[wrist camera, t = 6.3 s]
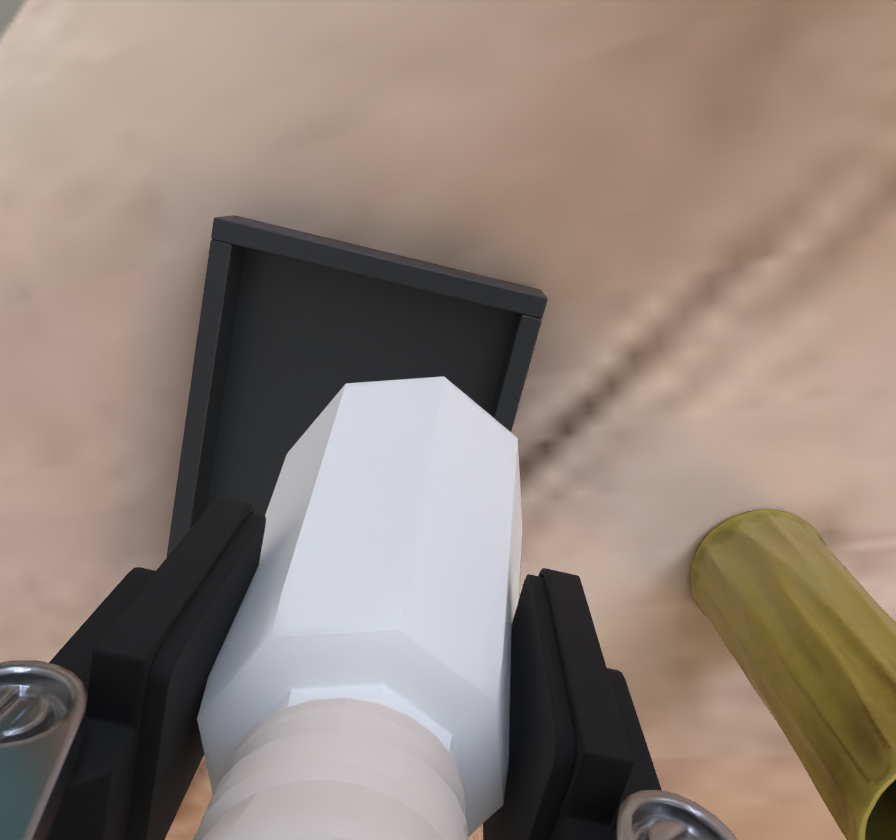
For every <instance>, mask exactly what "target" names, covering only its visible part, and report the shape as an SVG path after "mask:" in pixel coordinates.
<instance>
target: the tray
mask: <svg viewBox="0 0 896 840" xmlns="http://www.w3.org/2000/svg"><path fill="white" fill-rule="evenodd" d="M211 238H212V239H213V240H211V244H210V251H209V258H208V266H207V273H206V280H205V287H204V294H203V301H202V308H201V316H200V323H199V330H198V337H197V344H196V351H195V359H194V366H193V373H192V380H191V387H190V394H189V402H188V409H187V416H186V423H185V430H184V437H183V445H182V452H181V459H180V466H179V473H178V480H177V487H176V495H175V502H174V509H173V516H172V523H171V530H170V538H169V545H168V552H167V557H168V556H169V555H170V553H171V552H172V551H173V550H174V549H175V547H176V546H177V545H178V544H179V542H180V541H181V540H182V539H183V538H184V536H185V535H186V534H187V533H188V531H189V530H190V529H191V528H192V527H193V525H194V524H195V523H196V522H197V520H198V519H199V518H200V517H201V516H202V514H203V513H204V512H205V511H206V509H207V508H208V507H209V506H210V504H211V503H212V502H213V501H214V500H215V498H217V497H218V496H219V497H223V498H228V499H232V500H237V501H242V502H246V503H251V504H254V505H255V514H256V515H261V516H265V514H266V512H267V509H268V506H269V503H270V500H271V497H272V495H273V492H274V489H275V486H276V483H277V480H278V478H279V475H280V472H281V469H282V466H283V463H284V461H285V458H286V455H287V453H288V452H289V451H290V449H291V448H292V447H293V446H294V445H295V444H296V442H297V441H298V440H299V439H300V438H301V436H302V435H303V434H304V433H305V432H306V430H307V429H308V428H309V427H310V426H311V424H312V423H313V422H314V421H315V420H316V419H317V417H318V416H319V415H320V414H321V413H322V411H323V410H324V409H325V408H326V407H327V405H328V404H329V403H330V402H331V401H332V399H333V398H334V397H335V396H336V395H337V394H338V392H339V391H340V390H341V389H342V388H343V386H344V385H345V384H346V383H359V382H373V381H387V380H401V379H415V378H429V377H443V376H444V377H445V378H447V379H448V380H449V381H450V382H451V383H452V384H454V385H455V386H456V387H457V388H458V389H460V390H461V391H462V392H463V393H464V394H466V395H467V396H468V397H469V398H470V399H472V400H473V401H474V402H475V403H476V404H478V405H479V406H480V407H481V408H482V409H484V410H485V411H486V412H487V413H488V414H490V415H491V416H492V417H493V418H494V419H496V420H497V421H498V422H499V423H500V424H502V425H503V426H504V427H505V428H506V429H507V430H509V431H510V432H511V430H512V426H513V422H514V419H515V415H516V412H517V408H518V404H519V401H520V397H521V393H522V390H523V386H524V383H525V379H526V375H527V372H528V368H529V364H530V361H531V357H532V353H533V350H534V346H535V343H536V339H537V335H538V332H539V328H540V324H541V318H542V317H543V314H544V310H545V307H546V303H547V297H546V296H545V295H544V293H543V292H542V291H541V290H539V289H535V288H531V287H527V286H523V285H519V284H515V283H511V282H507V281H502V280H498V279H494V278H490V277H486V276H482V275H478V274H474V273H469V272H465V271H461V270H457V269H453V268H449V267H445V266H441V265H437V264H432V263H428V262H424V261H420V260H416V259H412V258H408V257H404V256H400V255H395V254H391V253H387V252H383V251H379V250H375V249H371V248H367V247H362V246H358V245H354V244H350V243H346V242H342V241H338V240H334V239H330V238H325V237H321V236H317V235H313V234H309V233H305V232H301V231H297V230H293V229H288V228H284V227H280V226H276V225H272V224H268V223H264V222H260V221H256V220H251V219H247V218H243V217H239V216H225V217H216V218H214V222H213V229H212V236H211Z"/></svg>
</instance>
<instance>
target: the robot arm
mask: <svg viewBox="0 0 896 840" xmlns="http://www.w3.org/2000/svg"><path fill="white" fill-rule="evenodd" d="M265 526H266V517H265V516H261V515H256V514H255V505H254V504H251V503H246V502H242V501H237V500H232V499H228V498H223V497H219V496H218V497H217V498H215V500H214V501H213V502H212V503H211V504H210V506H209V507H208V508H207V509H206V511H205V512H204V513H203V514H202V516H201V517H200V518H199V519H198V520H197V522H196V523H195V524H194V525H193V527H192V528H191V529H190V530H189V531H188V533H187V534H186V535H185V536H184V538H183V539H182V540H181V541H180V542H179V544H178V545H177V546H176V547H175V549H174V550H173V551H172V552H171V553H170V555H169V556H168V557H167V558H166V560H165V561H164V562H163V563H162V565H161V566H160V567H159V568H158V569H157V571H154V570H149V569H144V568H140V567H138V568H134V569H132V570H131V571H130V572H129V573H128V574H127V575H126V576H125V577H124V579H123V580H122V581H121V582H120V583H119V584H118V585H117V586H116V588H115V589H114V590H113V591H112V592H111V593H110V594H109V596H108V597H107V598H106V599H105V600H104V601H103V602H102V603H101V605H100V606H99V607H98V608H97V609H96V610H95V611H94V612H93V614H92V615H91V616H90V617H89V618H88V619H87V620H86V621H85V623H84V624H83V625H82V626H81V627H80V628H79V629H78V631H77V632H76V633H75V634H74V635H73V636H72V637H71V638H70V640H69V641H68V642H67V643H66V644H65V645H64V646H63V647H62V649H61V650H60V651H59V652H58V653H57V654H56V655H55V657H54V658H53V659H52V660H51V661H50V662H49V663H46V662H41V661H8V662H2V663H0V840H164V839H165V837H166V835H167V833H168V831H169V829H170V826H171V824H172V822H173V820H174V818H175V816H176V814H177V811H178V809H179V807H180V805H181V803H182V801H183V798H184V796H185V794H186V792H187V790H188V788H189V786H190V783H191V781H192V779H193V777H194V775H195V773H196V770H197V768H198V766H199V764H200V762H201V760H202V758H203V755H204V750H203V745H202V740H201V735H200V730H199V725H198V721H197V717H198V713H199V710H200V706H201V702H202V698H203V695H204V691H205V687H206V683H207V680H208V676H209V674H210V672H211V670H212V667H213V665H214V663H215V661H216V659H217V656H218V654H219V652H220V650H221V648H222V645H223V643H224V641H225V639H226V637H227V634H228V632H229V630H230V628H231V626H232V623H233V621H234V619H235V617H236V614H237V612H238V610H239V608H240V606H241V603H242V601H243V599H244V597H245V595H246V592H247V590H248V588H249V586H250V583H251V581H252V579H253V577H254V574H255V572H256V570H257V568H258V566H259V560H260V555H261V549H262V543H263V537H264V532H265ZM483 840H737V839H736V837H735V836H734V834H733V833H732V831H731V830H730V829H729V828H728V827H727V826H726V825H724V824H723V823H722V822H721V821H720V820H719V819H718V818H717V817H716V816H715V815H714V814H712V813H711V812H709V811H708V810H706V809H705V808H703V807H702V806H700V805H699V804H697V803H696V802H693V801H691V800H689V799H687V798H685V797H682V796H680V795H678V794H674V793H670V792H666V791H662V790H661V787H660V784H659V781H658V778H657V775H656V772H655V769H654V766H653V762H652V759H651V756H650V753H649V750H648V747H647V744H646V741H645V738H644V735H643V732H642V729H641V726H640V723H639V720H638V717H637V714H636V711H635V708H634V705H633V702H632V699H631V696H630V693H629V689H628V686H627V683H626V680H625V678H624V676H623V674H622V672H620V671H618V670H614V669H609V668H606V665H605V661H604V658H603V654H602V651H601V648H600V644H599V641H598V638H597V634H596V631H595V628H594V624H593V621H592V617H591V614H590V611H589V607H588V604H587V601H586V597H585V594H584V591H583V587H582V584H581V580H580V578H579V576H577V575H572V574H568V573H563V572H559V571H554V570H550V569H545V568H543V569H542V570H541V571H540V573H539V575H538V576H534V575H529V574H528V575H527V577H526V579H525V581H524V584H523V588H522V591H521V594H520V598H519V601H518V605H517V608H516V611H515V615H514V618H513V622H512V630H511V674H510V720H509V762H508V774H507V782H506V789H505V797H504V805H503V806H502V807H500V808H499V809H498V810H497V811H496V812H495V813H494V814H493V815H492V816H490V817H489V818H488V819H487V820H486V821H485V822H484V823H483Z"/></svg>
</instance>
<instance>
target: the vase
mask: <svg viewBox="0 0 896 840" xmlns="http://www.w3.org/2000/svg"><path fill="white" fill-rule="evenodd" d="M690 585H691V591H692V594H693V598H694V600H695V602H696V603H697V605H698V607H699V608H700V609H701V610H702V612H703V613H704V614H705V615H706V616H707V617H708V618H709V619H710V621H711V622H712V624H713V625H714V627H715V629H716V631H717V632H718V634H719V636H720V637H721V639H722V640H723V642H724V643H725V645H726V646H727V648H728V649H729V651H730V652H731V654H732V655H733V657H734V658H735V659H736V661H737V662H738V664H739V666H740V667H741V669H742V670H743V672H744V673H745V675H746V677H747V678H748V680H749V682H750V683H751V685H752V686H753V688H754V689H755V691H756V692H757V694H758V695H759V696H760V698H761V699H762V701H763V702H764V704H765V705H766V707H767V708H768V709H769V711H770V712H771V714H772V715H773V717H774V718H775V720H776V721H777V723H778V724H779V726H780V727H781V729H782V731H783V732H784V734H785V735H786V737H787V739H788V740H789V742H790V744H791V745H792V747H793V749H794V750H795V752H796V754H797V755H798V757H799V759H800V760H801V762H802V764H803V766H804V767H805V769H806V771H807V772H808V774H809V776H810V778H811V780H812V781H813V783H814V785H815V787H816V789H817V790H818V792H819V794H820V796H821V797H822V799H823V801H824V802H825V804H826V806H827V808H828V809H829V811H830V813H831V814H832V816H833V818H834V819H835V821H836V823H837V825H838V826H839V828H840V830H841V831H842V833H843V834H844V836H845V837H846V839H847V840H896V622H895V621H894V620H893V619H892V618H891V617H890V616H889V615H888V614H887V613H886V612H885V611H884V610H883V609H882V608H881V607H880V606H879V605H878V604H877V602H876V601H875V600H874V599H873V598H872V597H871V596H870V595H869V593H868V592H867V591H866V590H865V589H864V588H863V586H862V585H861V584H860V583H859V582H858V581H857V580H856V579H855V577H854V576H853V575H852V574H851V573H850V572H849V571H848V570H847V569H846V568H845V566H844V565H843V564H842V563H841V562H840V561H839V560H838V559H837V558H836V557H835V556H834V554H833V553H832V552H831V551H830V550H829V549H828V548H827V546H826V544H825V542H824V541H823V539H822V538H821V536H820V535H819V533H818V532H817V531H816V530H815V529H814V528H813V527H812V526H811V525H810V524H809V523H808V522H806V521H805V520H803V519H801V518H800V517H798V516H796V515H793V514H790V513H787V512H783V511H778V510H756V511H750V512H746V513H742V514H739V515H736V516H734V517H732V518H730V519H728V520H726V521H724V522H723V523H721V524H720V525H719V526H717V527H716V528H715V529H714V530H712V531H711V532H710V533H709V534H708V535H707V536H706V537H705V539H704V540H703V541H702V543H701V544H700V546H699V547H698V550H697V552H696V554H695V556H694V559H693V562H692V566H691V570H690Z"/></svg>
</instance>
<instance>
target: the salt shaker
mask: <svg viewBox="0 0 896 840" xmlns="http://www.w3.org/2000/svg"><path fill="white" fill-rule="evenodd" d="M265 517H266V526H265V532H264V537H263V543H262V549H261V555H260V560H259V566H258V568H257V570H256V572H255V574H254V577H253V579H252V581H251V583H250V586H249V588H248V590H247V592H246V595H245V597H244V599H243V601H242V603H241V606H240V608H239V610H238V612H237V614H236V617H235V619H234V621H233V623H232V626H231V628H230V630H229V632H228V634H227V637H226V639H225V641H224V643H223V645H222V648H221V650H220V652H219V654H218V656H217V659H216V661H215V663H214V665H213V667H212V670H211V672H210V674H209V676H208V680H207V683H206V687H205V691H204V695H203V698H202V702H201V706H200V710H199V713H198V717H197V721H198V725H199V730H200V735H201V740H202V745H203V750H204V754H205V759H206V764H207V769H208V774H209V779H210V783H211V788H212V793H213V797H212V799H211V801H210V803H209V805H208V808H207V810H206V813H205V815H204V817H203V819H202V821H201V824H200V826H199V829H198V831H197V833H196V835H195V837H194V839H193V840H469V839H468V836H470V835H471V834H472V833H473V832H474V831H475V830H476V829H477V828H478V827H479V826H481V825H482V824H483V823H484V822H485V821H486V820H487V819H488V818H489V817H490V816H492V815H493V814H494V813H495V812H496V811H497V810H498V809H499V808H500V807H502V806H503V805H504V797H505V789H506V782H507V774H508V762H509V720H510V674H511V630H512V622H513V618H514V615H515V611H516V608H517V605H518V597H519V580H520V562H521V544H522V508H521V490H520V472H519V453H518V438H517V437H516V436H515V435H513V434H512V433H511V432H510V431H509V430H507V429H506V428H505V427H504V426H503V425H502V424H500V423H499V422H498V421H497V420H496V419H494V418H493V417H492V416H491V415H490V414H488V413H487V412H486V411H485V410H484V409H482V408H481V407H480V406H479V405H478V404H476V403H475V402H474V401H473V400H472V399H470V398H469V397H468V396H467V395H466V394H464V393H463V392H462V391H461V390H460V389H458V388H457V387H456V386H455V385H454V384H452V383H451V382H450V381H449V380H448V379H447V378H445V377H444V376H443V377H429V378H415V379H401V380H387V381H373V382H359V383H346V384H345V385H344V386H343V388H342V389H341V390H340V391H339V392H338V394H337V395H336V396H335V397H334V398H333V399H332V401H331V402H330V403H329V404H328V405H327V407H326V408H325V409H324V410H323V411H322V413H321V414H320V415H319V416H318V417H317V419H316V420H315V421H314V422H313V423H312V424H311V426H310V427H309V428H308V429H307V430H306V432H305V433H304V434H303V435H302V436H301V438H300V439H299V440H298V441H297V442H296V444H295V445H294V446H293V447H292V448H291V449H290V451H289V452H288V453H287V455H286V458H285V461H284V463H283V466H282V469H281V472H280V475H279V478H278V480H277V483H276V486H275V489H274V492H273V495H272V497H271V500H270V503H269V506H268V509H267V512H266V514H265Z"/></svg>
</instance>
